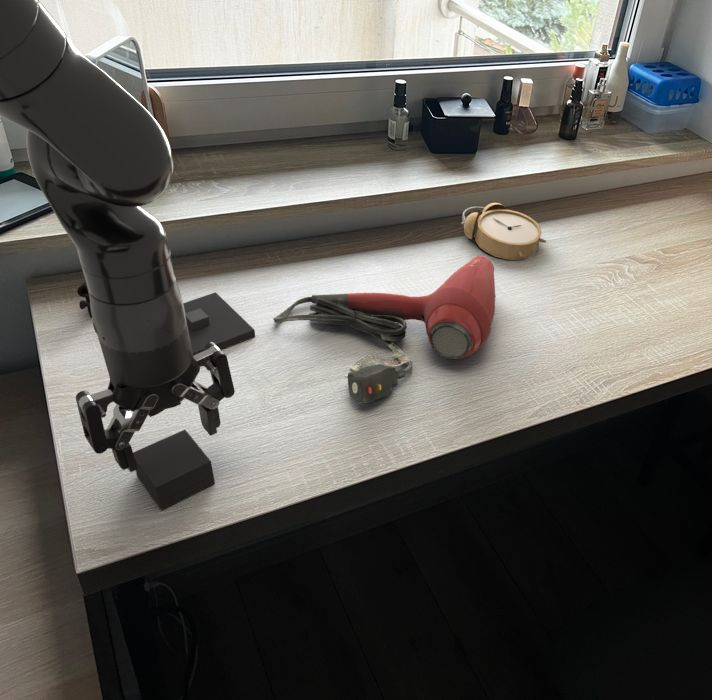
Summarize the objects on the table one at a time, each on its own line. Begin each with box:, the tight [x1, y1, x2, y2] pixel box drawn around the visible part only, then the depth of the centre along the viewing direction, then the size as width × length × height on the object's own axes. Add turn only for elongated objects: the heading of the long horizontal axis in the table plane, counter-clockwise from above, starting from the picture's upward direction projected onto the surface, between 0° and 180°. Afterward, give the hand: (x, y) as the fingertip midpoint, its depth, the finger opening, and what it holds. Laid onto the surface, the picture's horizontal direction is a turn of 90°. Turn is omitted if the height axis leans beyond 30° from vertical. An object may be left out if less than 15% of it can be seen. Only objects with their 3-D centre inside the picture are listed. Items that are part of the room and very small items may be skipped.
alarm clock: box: [461, 202, 547, 261], centre depth 125 cm, size 11×5×15 cm
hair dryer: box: [272, 255, 497, 404], centre depth 101 cm, size 33×25×9 cm
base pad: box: [183, 292, 256, 356], centre depth 98 cm, size 11×11×3 cm
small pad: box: [133, 429, 216, 511], centre depth 77 cm, size 6×6×4 cm
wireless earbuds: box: [77, 281, 93, 319], centre depth 99 cm, size 7×2×5 cm, turn 170°
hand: (171, 447), depth 75 cm, fingers open, 8 cm apart
